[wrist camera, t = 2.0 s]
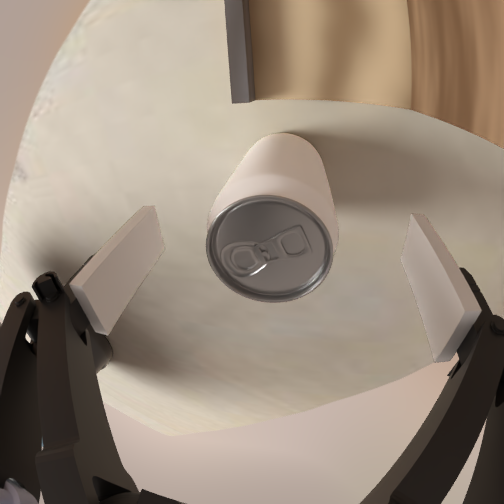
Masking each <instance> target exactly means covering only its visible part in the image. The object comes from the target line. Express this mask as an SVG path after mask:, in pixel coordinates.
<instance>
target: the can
mask: <svg viewBox="0 0 504 504" xmlns="http://www.w3.org/2000/svg"><path fill="white" fill-rule="evenodd" d="M337 244H338V222H337V216H336V211H335V207H334V203H333V198H332V194H331V190H330V187H329V183H328V179H327V175H326V172H325V168H324V165H323V162H322V159H321V157H320V155H319V153H318V152H317V150H316V149H315V148H314V147H313V146H312V145H311V144H310V143H309V142H308V141H306V140H305V139H303V138H301V137H299V136H296V135H293V134H288V133H277V134H271V135H268V136H266V137H264V138H262V139H260V140H259V141H257V142H256V143H255V144H254V145H253V146H252V147H251V148H250V149H249V150H248V152H247V153H246V155H245V156H244V157H243V159H242V160H241V162H240V163H239V164H238V166H237V167H236V169H235V170H234V172H233V173H232V175H231V176H230V178H229V179H228V181H227V182H226V184H225V185H224V187H223V188H222V190H221V191H220V193H219V194H218V196H217V198H216V200H215V201H214V203H213V205H212V208H211V210H210V213H209V217H208V222H207V238H206V253H207V257H208V261H209V263H210V266H211V268H212V269H213V271H214V273H215V274H216V275H217V277H218V278H219V279H220V280H221V281H222V282H223V283H224V284H225V285H226V286H227V287H229V288H230V289H231V290H233V291H234V292H236V293H238V294H240V295H242V296H244V297H246V298H249V299H252V300H256V301H261V302H270V303H278V302H287V301H291V300H295V299H298V298H301V297H303V296H305V295H307V294H309V293H310V292H312V291H313V290H314V289H316V288H317V287H318V286H319V285H320V284H321V283H322V282H323V280H324V279H325V278H326V276H327V274H328V273H329V270H330V268H331V265H332V261H333V256H334V254H335V251H336V248H337Z"/></svg>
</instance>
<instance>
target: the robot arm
mask: <svg viewBox="0 0 504 504" xmlns="http://www.w3.org/2000/svg"><path fill="white" fill-rule="evenodd" d="M164 250H165V246H164V242H163V238H162V234H161V230H160V226H159V222H158V217H157V213H156V209H155V206H143V207H142V208H141V209H140V210H139V211H138V212H136V213H135V214H134V215H133V216H132V217H131V218H130V219H129V220H128V221H127V222H126V223H125V224H124V225H123V226H122V227H121V228H120V229H119V230H118V231H117V232H116V233H115V234H114V235H113V236H112V237H111V238H110V239H109V240H108V241H107V243H106V244H105V245H104V246H103V247H102V248H101V249H100V250H99V251H98V252H97V253H95V254H94V255H92V256H91V257H90V258H89V259H88V260H87V261H86V262H85V263H84V265H82V267H81V268H80V269H79V271H77V272H76V273H75V274H74V276H73V277H72V278H71V279H70V280H69V281H68V282H67V284H66V285H65V286H64V287H63V286H62V284H61V282H60V280H59V278H58V276H57V274H56V273H55V272H47V273H44V274H42V275H40V276H39V277H38V278H37V279H36V280H35V281H34V282H33V285H32V288H33V290H34V292H35V293H36V295H37V297H38V299H39V300H34V299H33V297H32V295H31V294H30V293H29V292H23V293H20V294H19V295H17V296H16V297H15V298H14V299H13V301H12V302H11V304H10V306H9V309H8V311H7V313H6V316H5V318H4V321H3V323H2V324H1V323H0V504H39V499H40V491H41V492H42V495H43V499H44V503H45V504H185V503H182V502H179V501H176V500H173V499H169V498H166V497H163V496H160V495H157V494H155V493H152V492H149V491H146V490H144V489H142V490H141V492H139V491H138V489H137V487H136V485H135V483H134V481H133V479H132V478H131V476H130V475H129V474H128V473H127V472H126V470H125V469H124V467H123V465H122V463H121V460H120V457H119V454H118V452H117V449H116V446H115V443H114V440H113V437H112V434H111V430H110V427H109V423H108V420H107V416H106V413H105V409H104V405H103V401H102V397H101V393H100V389H99V384H98V380H97V375H96V374H97V373H98V372H99V371H100V370H101V369H104V368H105V367H106V366H107V364H108V363H109V361H110V359H111V357H112V348H111V346H110V344H109V342H108V341H107V339H106V338H105V337H104V335H109V334H110V332H111V330H112V329H113V327H114V325H115V324H116V322H117V321H118V319H119V317H120V316H121V314H122V313H123V311H124V310H125V308H126V306H127V305H128V303H129V302H130V300H131V299H132V297H133V296H134V294H135V293H136V291H137V290H138V288H139V287H140V285H141V284H142V282H143V281H144V279H145V278H146V276H147V275H148V273H149V272H150V270H151V269H152V267H153V266H154V264H155V263H156V262H157V260H158V259H159V257H160V256H161V254H162V253H163V252H164ZM400 260H401V263H402V265H403V268H404V270H405V273H406V275H407V278H408V281H409V283H410V286H411V289H412V291H413V294H414V297H415V300H416V303H417V306H418V309H419V312H420V315H421V318H422V321H423V324H424V327H425V331H426V334H427V337H428V341H429V344H430V348H431V352H432V355H433V359H434V363H436V362H445V361H450V360H451V359H452V358H453V356H454V355H455V353H456V352H457V353H458V356H459V361H458V362H457V363H456V364H455V366H454V367H453V369H452V370H451V371H450V372H449V374H448V375H447V376H450V377H449V379H448V381H447V383H446V385H445V387H444V389H443V391H442V392H441V394H440V396H439V398H438V399H437V401H436V403H435V405H434V406H433V408H432V410H431V411H430V413H429V415H428V416H427V418H426V420H425V421H424V423H423V424H422V426H421V428H420V429H419V430H418V432H417V434H416V435H415V436H414V438H413V439H412V441H411V442H410V444H409V445H408V446H407V448H406V449H405V451H404V452H403V453H402V455H401V456H400V457H399V459H398V460H397V461H396V462H395V464H394V465H393V466H392V468H391V469H390V470H389V471H388V472H387V474H386V475H385V476H384V477H383V478H382V480H381V481H380V482H379V483H378V484H377V485H376V487H375V488H374V489H373V490H372V491H371V492H370V493H369V494H368V495H367V496H366V498H365V499H364V500H363V501H362V502H361V503H360V504H441V502H442V501H443V499H444V498H445V496H446V495H447V493H448V492H449V490H450V489H451V487H452V486H453V484H454V482H455V481H456V479H457V477H458V475H459V474H460V472H461V470H462V468H463V467H464V465H465V463H466V461H467V459H468V457H469V455H470V453H471V451H472V449H473V447H474V445H475V443H476V441H477V439H478V437H479V434H480V432H481V430H482V428H483V425H484V423H485V420H486V418H487V420H486V425H485V430H484V435H483V440H482V444H481V448H480V452H479V456H478V459H477V463H476V466H475V470H474V473H473V476H472V480H471V482H470V485H469V488H468V491H467V494H466V497H465V499H464V501H463V504H504V319H503V318H502V317H500V316H497V315H493V314H492V312H491V310H490V308H489V306H488V304H487V302H486V300H485V298H484V296H483V295H482V293H481V292H480V289H479V287H478V286H477V285H476V282H475V280H474V279H473V277H472V275H471V274H470V273H469V272H468V271H467V270H465V269H464V268H459V267H458V265H457V264H456V262H455V260H454V259H453V257H452V255H451V254H450V252H449V251H448V249H447V247H446V246H445V244H444V243H443V241H442V240H441V238H440V237H439V235H438V234H437V232H436V231H435V229H434V228H433V226H432V225H431V223H430V222H429V220H428V219H427V218H426V216H425V215H422V214H411V217H410V222H409V226H408V231H407V235H406V239H405V244H404V248H403V251H402V255H401V259H400ZM26 332H27V334H28V335H29V337H30V338H31V342H30V343H29V342H28V341H27V340H26V338H25V336H26ZM103 334H104V335H103ZM42 447H43V450H42V449H41V448H42ZM41 450H42V451H41Z"/></svg>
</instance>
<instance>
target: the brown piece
mask: <svg viewBox="0 0 504 504" xmlns="http://www.w3.org/2000/svg"><path fill="white" fill-rule="evenodd" d="M224 1H225V16H226V30H227V44H228V57H229V70H230V84H231V96H232V104H233V103H249V102H252V101H254V100H270V99H307V100H331V101H346V102H357V103H367V104H376V105H384V106H391V107H398V108H404V109H410V110H413V111H416V112H419V113H422V114H425V115H428V116H431V117H434V118H436V119H439V120H442V121H444V122H447V123H449V124H452V125H454V126H457V127H459V128H461V129H464V130H466V131H468V132H471V133H473V134H475V135H477V136H479V137H481V138H484V139H486V140H488V141H490V142H492V143H494V144H496V145H498V146H500V147H501V148H503V149H504V0H224Z"/></svg>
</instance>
